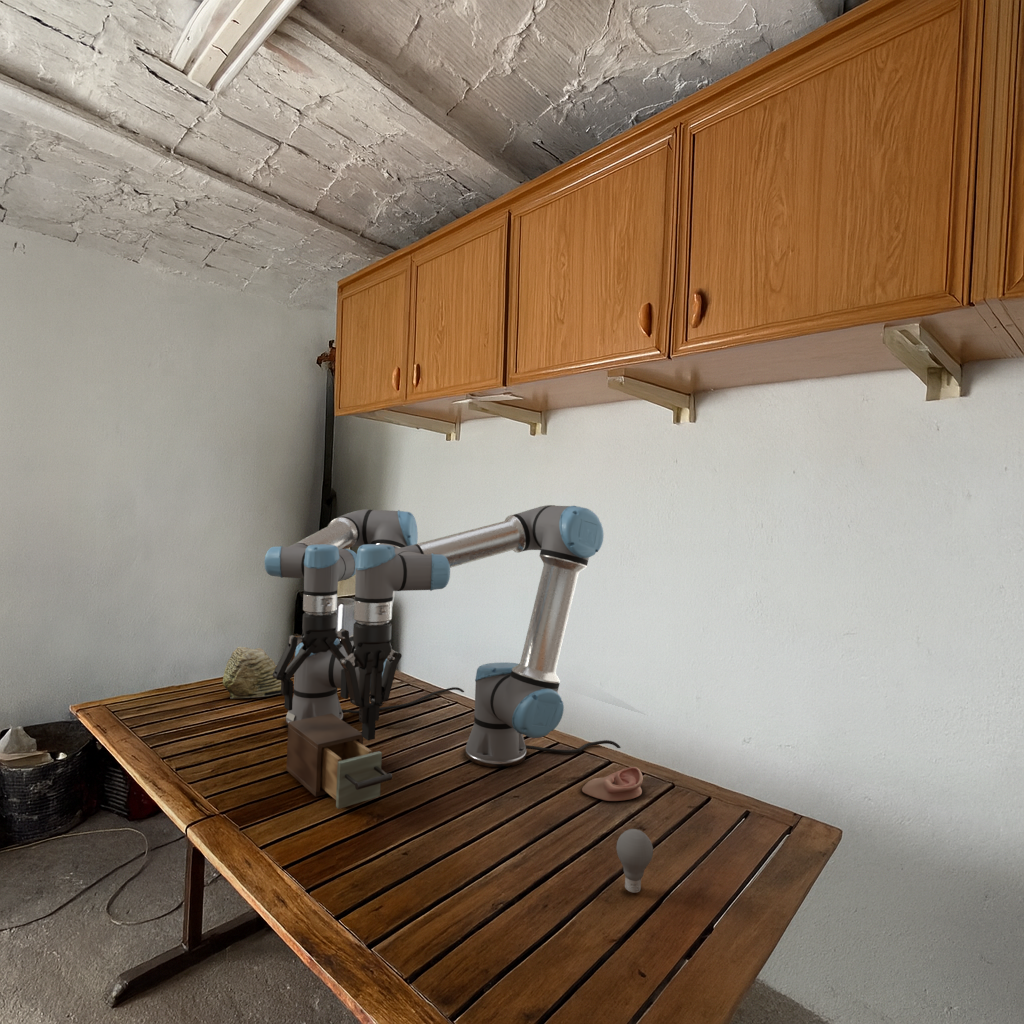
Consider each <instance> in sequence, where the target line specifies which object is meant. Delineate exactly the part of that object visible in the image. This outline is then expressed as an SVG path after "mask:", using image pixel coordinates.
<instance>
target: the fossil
mask: <svg viewBox="0 0 1024 1024" xmlns="http://www.w3.org/2000/svg"><path fill="white" fill-rule="evenodd" d="M276 667H277V665H276V663H275V662H274V660H273V659H272V658H271V657H270V656H269V655H268V654H267V653H266V652H265V650H264V649H263V648H260V647H258V648H251V647H247V646H246V647H245V646H238V647H237V648H236V649H235V650H233V651H232V653H231V656H230V657H229V659H228V660H227V663H226V666H225V668H224V671H223V675H222V676H223V677H222V685H223V687H224V688H225V690H226V691H228V693H229V698H230V699H250V698H264V697H271V696H275V695H281V680H277V679H276V678H274V677H273V673H274V671H275V669H276Z"/></svg>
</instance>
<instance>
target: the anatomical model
mask: <svg viewBox="0 0 1024 1024" xmlns="http://www.w3.org/2000/svg"><path fill="white" fill-rule="evenodd" d="M643 782H644V775H643V773H642V771H641V770H640V769H639V768H638V767H637V766H630V767H625V768H623V769H620V770H617V771H615V772H613V773H610V774H608V775H605V776H604V777H596V778H595V777H594V778H592V779H590V780H588V781H587V782H586V783H585V784H584V785H583V786H582V788H581V792H582V793H583V794H585V795H587V796H590V797H593V798H595V799H598V800H602V801H606V802H619V801H621V802H622V801H628V800H633V799H635V798H638V797H640V796H641V795H642V793H643V789H642V787H641V786H642V784H643Z"/></svg>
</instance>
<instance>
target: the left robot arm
mask: <svg viewBox="0 0 1024 1024" xmlns="http://www.w3.org/2000/svg"><path fill="white" fill-rule="evenodd" d="M418 533H419V532H418V526H417V520H416V517H415V515H414V514H413V513H412V512H410V511H404V510H400V509H398V510H386V509H384V510H383V509H367V508H364V509H358V510H354V511H352V512H350V511H349V512H348V513H344V514H343V515H340V516H337V517H336V518H333V519H332V520H331V521H330V522H329V523H328V524H327V526H326V527H324V528H321V529H320V530H318V531H315V532H314V533H312V534H309V536H307V537H304V538H302V539H301V540H299V541H297V542H295V543H292V544H291V545H289V546H283V545H280V546H271V547H270V548H269V549H268V550H267V551H266V554H265V556H264V561H263V563H264V570H265V571H266V573H267V574H268V575H269V576H272V577H279V578H281V579H282V578H288V579H303V599H302V600H303V601H302V611H303V612H304V613H303V614H302V633H301V635H293V634H289V635H288V637H287V643H286V646H285V649H284V650H283V652H282V654H281V656H280V658H279V661H278V663H277V665H276V669H275V671H274V673H273V677H274V678H276V679H277V680H281V693H280V695H282V696H283V697H284V702H283V704H284V705H283V707H284V708H285V709H286V710H287V713H286V715H285V726H286V728H288V722H292V721H297V720H302V719H307V718H312V717H317V716H322V715H327V714H333V715H335V716H336V717H338V718H339V719H341V720H342V721H344V713H347V714H359V709H358V710H353V709H343V708H342V706H341V702H340V699H339V695H338V689H340V693H339V694H340V698H343V699H344V700H349V699H350V697H349V692H348V687H347V682H346V677H345V671H344V668H343V667H342V665H341V664H340V659H341V658H346V657H347V656H349V655H350V654H351V649H352V648H353V645H354V642H353V634H351V635H350V631H349V630H347V629H344V628H340V629H339V630H337V621H338V620H337V619H338V614H337V612H335V611H337V610H338V588H339V587H338V586H339V582H341V581H346V580H349V579H351V578H353V577H354V576H356V569H355V566H356V557H357V552H355V551H354V550H352V549H350V548H353V547H360V546H362V545H366V544H379V545H380V544H382V545H391V546H393V547H398V548H402V547H406V546H410V545H415V544H418V539H419V537H418V536H419V535H418ZM395 595H396V591H393V600H392V607H393V605H394V601H395ZM293 656H294V657H293ZM292 658H293V659H292ZM386 661H387V659H386V660H385V662H384V668H385V664H386ZM354 662H355V666H354V668H355V671H356V676H357V682H358V687H359V674H360V672H359V665H358V663H357V662H356V660H354ZM383 672H384V670H383ZM383 672H382V676H383ZM292 678H293V679H292ZM370 684H371V680H370ZM449 691H459V692H461V693H465V690H464V689H462V688H460V687H457V686H456V687H455V686H453V687H448V688H445V689H440V690H436V691H433V692H431V693H429V694H426V695H424V696H421V697H419V698H416V699H415V700H412V701H409V702H406V703H402V704H397V705H390V706H383V707H382V706H381V707H380V708H379V712H380V711H386V710H393V709H400V708H403V707H408V706H411V705H414V704H417V703H418V702H422V701H423V700H425V699H428V698H430V697H432V696H434V695H438V694H442V693H446V692H449Z"/></svg>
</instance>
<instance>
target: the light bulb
mask: <svg viewBox="0 0 1024 1024" xmlns="http://www.w3.org/2000/svg"><path fill="white" fill-rule="evenodd" d="M615 849H616V854H617V857H618V859H619V861H620V863H621V865H622V867H623V873H624V874H623V875H624V876H625V878H624V888H625V890H627V891H628V892H630V893H634V894H635V893H639V892H640V891H641V889H642V887H641V886H642V879H643V877H644V875H645V871H646V868H647V867H648V866H649V864H650V863H651V861H652V859H653V855H654V847H653V843H652V841H651V838H649V836H648V835H647V834H646V833H645V832H643V831H642V830H641V829H636V828H629V829H627V830H625V831H623V832H622V833H621V834H620V835H619V837H618V839H617V841H616V847H615Z"/></svg>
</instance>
